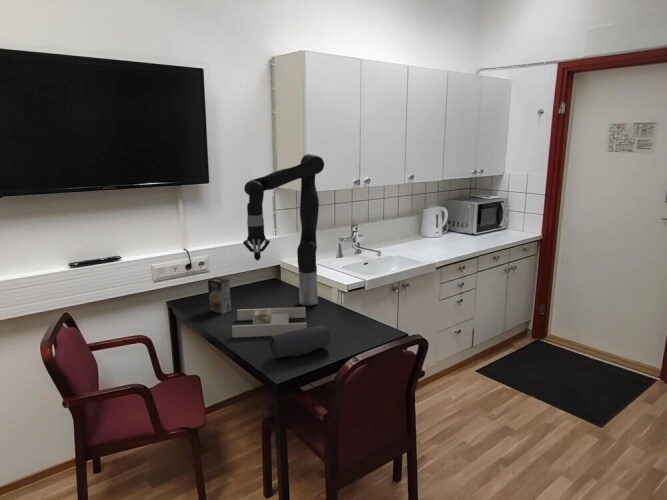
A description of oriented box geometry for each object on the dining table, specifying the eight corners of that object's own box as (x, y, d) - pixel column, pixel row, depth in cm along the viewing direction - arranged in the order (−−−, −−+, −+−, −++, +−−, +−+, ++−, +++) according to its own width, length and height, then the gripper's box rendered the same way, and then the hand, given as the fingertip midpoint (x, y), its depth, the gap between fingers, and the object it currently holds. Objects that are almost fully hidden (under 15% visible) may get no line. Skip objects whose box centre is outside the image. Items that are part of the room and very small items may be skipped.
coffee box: (209, 310, 231) (206, 280, 227) (218, 306, 237) (216, 276, 233) (222, 314, 227) (220, 282, 223) (231, 310, 232) (229, 279, 228)
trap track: (305, 316, 223) (305, 306, 221) (306, 334, 203) (306, 323, 202) (237, 319, 220) (237, 309, 219) (232, 337, 201) (231, 326, 199)
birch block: (271, 317, 214) (271, 309, 213) (270, 322, 208) (270, 314, 207) (256, 318, 214) (255, 310, 213) (254, 323, 208) (254, 315, 207)
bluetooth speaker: (320, 342, 195) (320, 320, 192) (331, 351, 187) (331, 328, 184) (269, 355, 184) (268, 331, 182) (278, 365, 176) (277, 340, 174)
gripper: (270, 222, 221) (271, 257, 225) (242, 223, 220) (244, 258, 224) (269, 225, 214) (271, 261, 218) (240, 226, 213) (242, 262, 217)
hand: (257, 260), depth 221 cm, fingers closed
